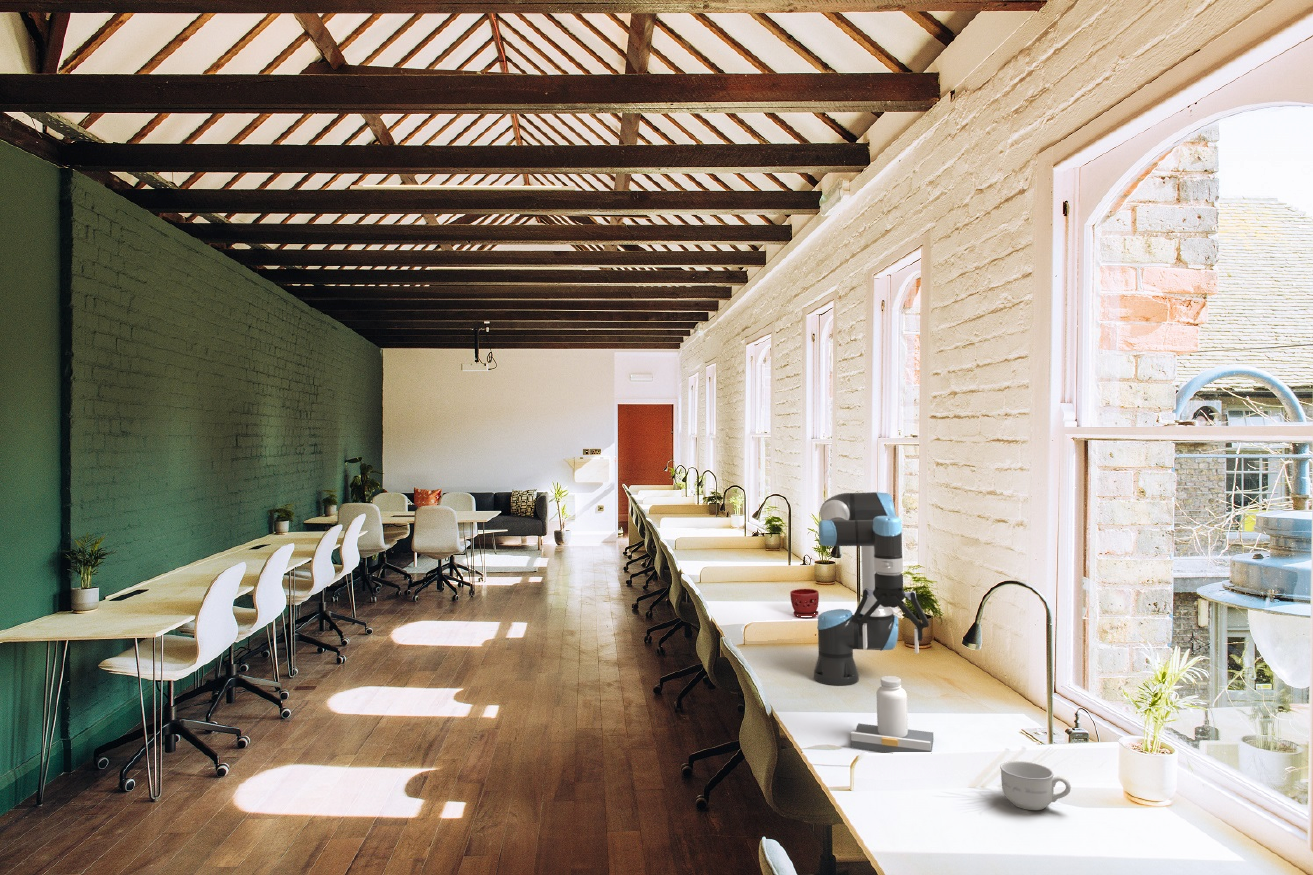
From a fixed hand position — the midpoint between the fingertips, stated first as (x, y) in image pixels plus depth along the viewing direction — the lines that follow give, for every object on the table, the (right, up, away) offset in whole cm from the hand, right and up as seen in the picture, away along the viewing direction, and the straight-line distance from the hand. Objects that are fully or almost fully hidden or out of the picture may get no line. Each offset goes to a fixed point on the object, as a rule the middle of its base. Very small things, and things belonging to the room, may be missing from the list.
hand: (890, 650), depth 205 cm
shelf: (0, -25, -2) cm, 25 cm away
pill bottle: (0, -23, 0) cm, 23 cm away
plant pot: (+6, -26, +148) cm, 150 cm away
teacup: (+20, -24, -38) cm, 50 cm away
